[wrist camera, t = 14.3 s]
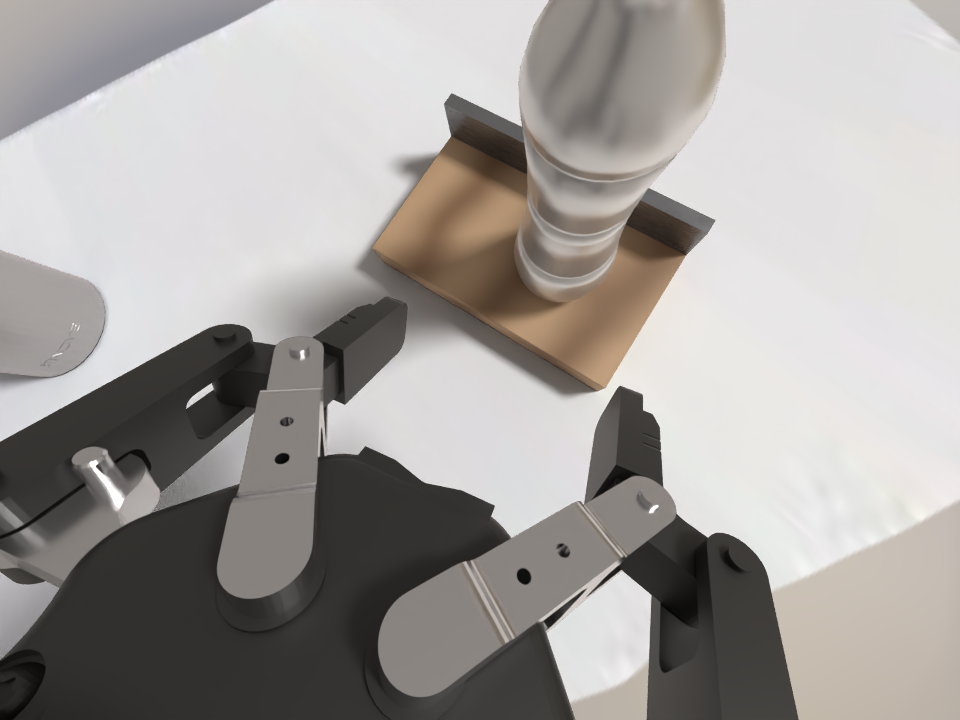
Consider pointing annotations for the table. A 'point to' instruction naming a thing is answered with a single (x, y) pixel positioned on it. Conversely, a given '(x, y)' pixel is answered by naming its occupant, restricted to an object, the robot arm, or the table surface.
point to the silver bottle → (605, 125)
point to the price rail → (508, 146)
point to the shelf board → (493, 272)
